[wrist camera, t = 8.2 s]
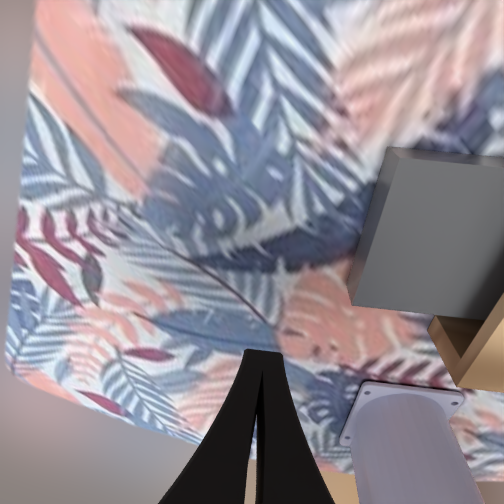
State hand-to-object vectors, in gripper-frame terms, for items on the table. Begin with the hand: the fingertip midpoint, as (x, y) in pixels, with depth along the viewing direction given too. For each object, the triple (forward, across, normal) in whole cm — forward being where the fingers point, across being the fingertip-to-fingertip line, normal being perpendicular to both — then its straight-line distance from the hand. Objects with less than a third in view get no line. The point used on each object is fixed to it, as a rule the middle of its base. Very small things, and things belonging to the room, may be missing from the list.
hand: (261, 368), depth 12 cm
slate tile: (+10, -11, -2) cm, 15 cm away
